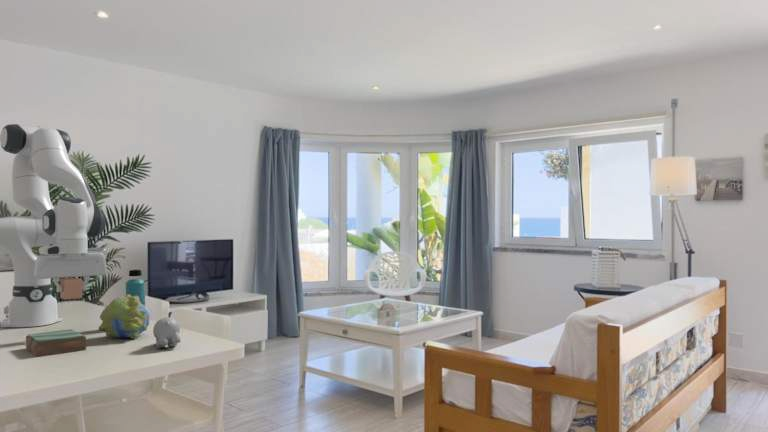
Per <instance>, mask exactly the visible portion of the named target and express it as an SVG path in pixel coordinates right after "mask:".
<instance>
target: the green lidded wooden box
mask: <svg viewBox="0 0 768 432" xmlns="http://www.w3.org/2000/svg"><path fill="white" fill-rule="evenodd" d="M86 348H87V336H85V335H84V334H81V333H79V332H77V331H76V330H74V329H70V328H69V329H64V330H63V329H62V330H55V331H46V332H40V333H39V332H38V333H30V334H29V333H28V334H27V335H26V336H25V349H26V350H27V351H29V352H30V353H32V354H33V355H34V356H35V357H45V356H51V355H58V354H64V353H72V352H79V351H85V350H87V349H86Z"/></svg>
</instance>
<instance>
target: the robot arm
mask: <svg viewBox="0 0 768 432" xmlns="http://www.w3.org/2000/svg"><path fill="white" fill-rule="evenodd" d="M71 141H72V140H71V137H70V135H69V133H68V132H66V131H63V130H61V129H58V128H57V129H53V128H51V127H46V126H45V127H44V126H39V125H38V126H35V125H24V124H17V123H15V124H14V123H13V124H12V123H11V124H7V125H5V126H3V127H2V130H1V132H0V147H1V149H3V151H5V152H7V153H9V154H13V155H15V156H14V159H13V164H12V171H11V180H12V181H11V182H12V185H11V186H12V198H13V201H14V202H15V203H16V205H18V206H20V207H21V208H23V209H25V210H28V211H29V213H31V215H32V216H31V215H29V216H28V215H26V216H25V215H24V216H23V215H21V216H20V215H16V216H15V215H14V216H4V217H0V248H1V249H2V250H3V251H5V253H6V254H7V255H8V256H9V258H10V260H11V262H12V266H13V277H14V278H13V279H14V285H13V286H12V293H11V294H12V299H11V300H10V301H9V302H8V305H6V306H5V307H4V308H3V314H4V315H5V318H3V319H2V321H1V324H0V328H30V327H40V326H41V327H42V326H46V325H47V326H48V325H51V324H52V325H53V324H55V323H58V322H62V321H63V318H62V317H58V301H57V298H55V297H54V296H53V295H52V294H53V285H52V282H53V283H54V285H55V287H56V293H61V292H63V286H61V284H60V283H59V282H60V280H61V279H65V278H79V277H82V280H84V281H82V291H86V290H87V289H86V288H87V284H88V283H89V281H90V277H95V276H105V275H106V273H107V267H108V266H107V260H106V259H107V257H108V256H107V255H108V254H107V253H108V252H107V249H105V248H103V247H99V246H98V247H92V246H91V247H88V246H89V244H88V240H89V238H92V239H93V238H94V239H95V238H97V237H98V236H100V235H101V234H102V233H103V232H104V231H105V229H106V227H107V226H106V224H107V223H106V222H107V221H106V216H105V214H104V213H103V211H102V209H100V207H99V205H98V202H97V201H96V198H95V196H94V194H93V192H92V190H91V186H90V185H89V183H88V182H89V181H88V180H87V179H86V176H85V174H84V173H83V171H82V170H80V169H78V168H77V167H76V166H75V165H74V164H73V163H72V161H71V160H70V158H69V153H70V151H71V150H70V149H71V145H72V144H71V143H72V142H71ZM49 183H50V184H55V185H58V186H61V187H63V188H66V189H68V190H70V191H71V192H73V194H74V195H75V196H76V197H71V196H70V197H69V196H66V197H65V196H64V197H61V198H59V199H58V200H57V204H56V206H54V205H53V203H52V201H51V197H50V191H49V190H50V189H49ZM33 247H39V248H38V253H39V255H37V254H34V252H33ZM51 281H52V282H51Z"/></svg>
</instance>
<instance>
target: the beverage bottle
mask: <svg viewBox="0 0 768 432" xmlns="http://www.w3.org/2000/svg"><path fill="white" fill-rule="evenodd" d="M142 275H143V274H142V270H141V269H130V270H129V271H128V277H141V276H142ZM145 283H146V282H145V281H144V280H143V279H141V278H132V279H128V280H127V281H126V282H125V296H126V295H127V294H129V295H131V296H138V297H139V300H140V302H141V304H144V305H145V306H146V288H145V287H146V284H145Z"/></svg>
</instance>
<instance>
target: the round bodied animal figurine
mask: <svg viewBox="0 0 768 432" xmlns="http://www.w3.org/2000/svg"><path fill="white" fill-rule="evenodd" d="M180 326H181V325H180V324H179V322H178V321H177V320H176V319H175V318H173V317H169V316H167V317H162V318H160V319H158V320H157V321H156V322H155V324H154V326H153V331H152V332H153V336H154V338H155V348H156V349H163V348H166V346H167V347H169V348H172V347H173V348H174V347H176V346H178V344H179V343H181V340H182V339H181V336H180V330H181V327H180Z"/></svg>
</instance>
